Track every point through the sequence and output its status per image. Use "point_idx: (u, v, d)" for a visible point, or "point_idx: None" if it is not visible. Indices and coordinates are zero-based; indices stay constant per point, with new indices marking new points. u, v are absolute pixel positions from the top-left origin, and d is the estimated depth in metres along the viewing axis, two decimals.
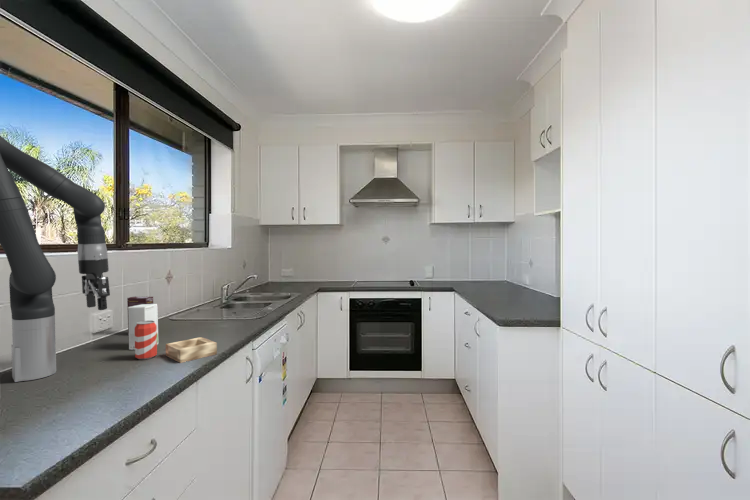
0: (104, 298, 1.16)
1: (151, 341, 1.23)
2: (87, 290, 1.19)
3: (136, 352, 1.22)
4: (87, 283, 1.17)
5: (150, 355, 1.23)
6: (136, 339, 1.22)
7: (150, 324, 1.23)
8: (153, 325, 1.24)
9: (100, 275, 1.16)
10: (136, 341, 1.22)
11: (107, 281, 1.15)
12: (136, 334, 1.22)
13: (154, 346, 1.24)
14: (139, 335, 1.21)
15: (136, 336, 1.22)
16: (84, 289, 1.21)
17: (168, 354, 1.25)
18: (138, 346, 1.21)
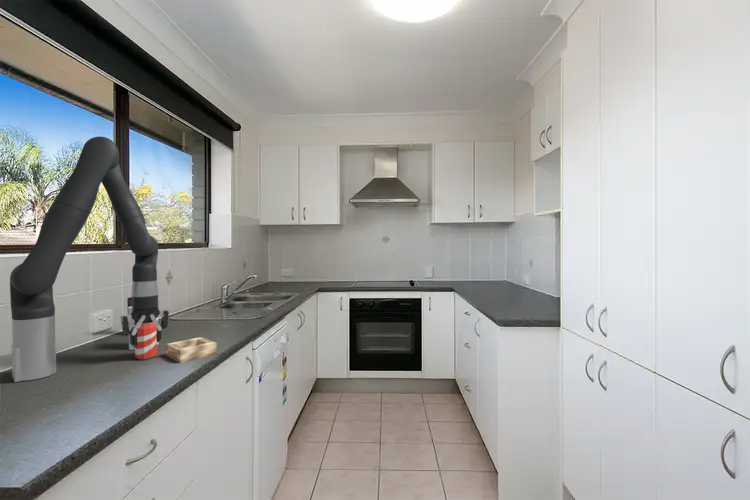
0: None
1: (151, 341, 1.23)
2: None
3: (136, 352, 1.22)
4: None
5: (150, 355, 1.23)
6: None
7: (150, 324, 1.23)
8: (153, 325, 1.24)
9: None
10: None
11: None
12: (136, 334, 1.22)
13: (154, 346, 1.24)
14: (139, 335, 1.21)
15: (136, 336, 1.22)
16: (128, 329, 1.20)
17: (168, 354, 1.25)
18: (138, 346, 1.21)
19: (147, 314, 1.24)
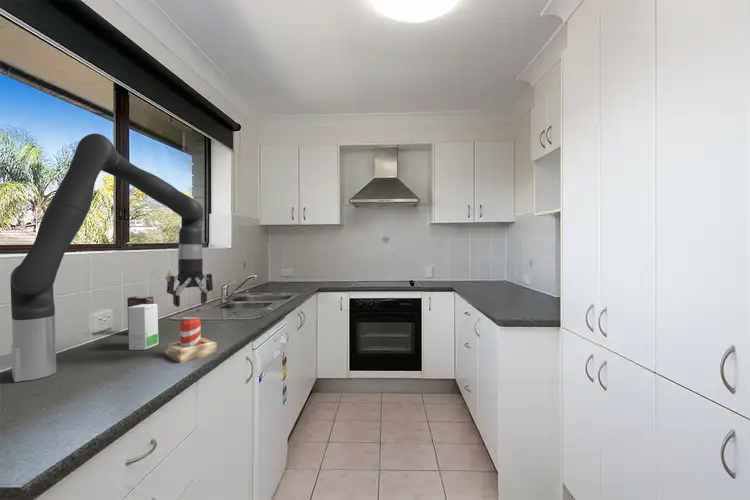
0: None
1: (196, 336, 1.26)
2: None
3: None
4: None
5: None
6: (182, 334, 1.24)
7: (195, 319, 1.26)
8: (198, 320, 1.27)
9: None
10: (182, 336, 1.24)
11: None
12: (181, 329, 1.24)
13: (199, 341, 1.27)
14: (185, 329, 1.24)
15: (182, 331, 1.24)
16: (173, 289, 1.21)
17: (168, 354, 1.25)
18: (184, 341, 1.24)
19: (192, 277, 1.26)
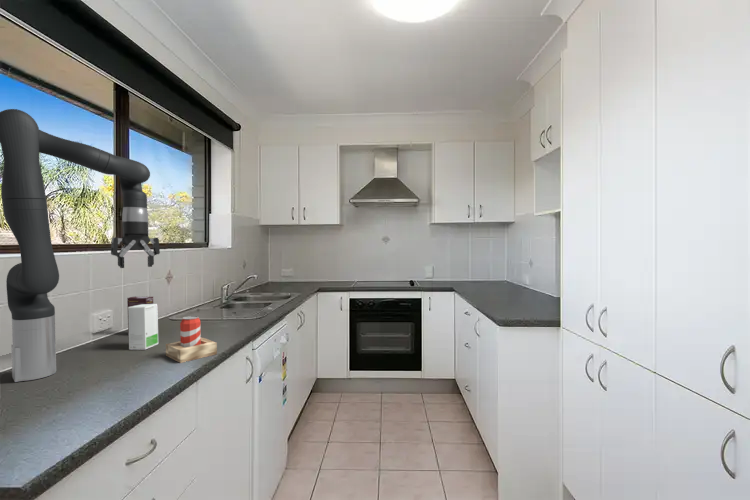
0: None
1: (196, 336, 1.26)
2: None
3: None
4: None
5: None
6: (182, 334, 1.24)
7: (195, 319, 1.26)
8: (198, 320, 1.27)
9: None
10: (182, 336, 1.24)
11: None
12: (181, 329, 1.24)
13: (199, 341, 1.27)
14: (185, 329, 1.24)
15: (182, 331, 1.24)
16: None
17: (168, 354, 1.25)
18: (184, 341, 1.24)
19: (137, 240, 1.28)
